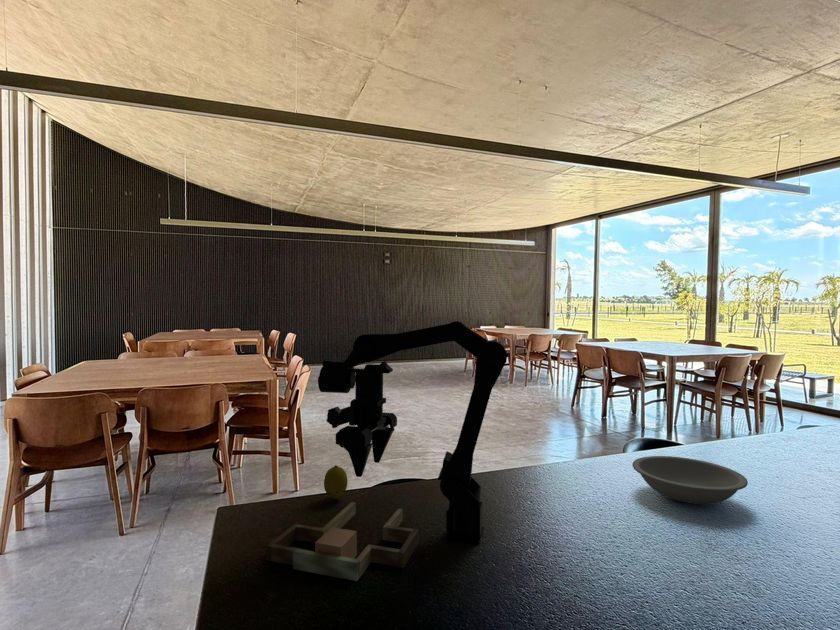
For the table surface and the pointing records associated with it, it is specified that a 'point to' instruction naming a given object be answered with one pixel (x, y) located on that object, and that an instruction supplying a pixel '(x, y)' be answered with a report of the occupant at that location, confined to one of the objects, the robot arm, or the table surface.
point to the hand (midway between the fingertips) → (368, 469)
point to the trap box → (339, 564)
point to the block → (338, 543)
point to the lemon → (335, 481)
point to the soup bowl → (689, 479)
